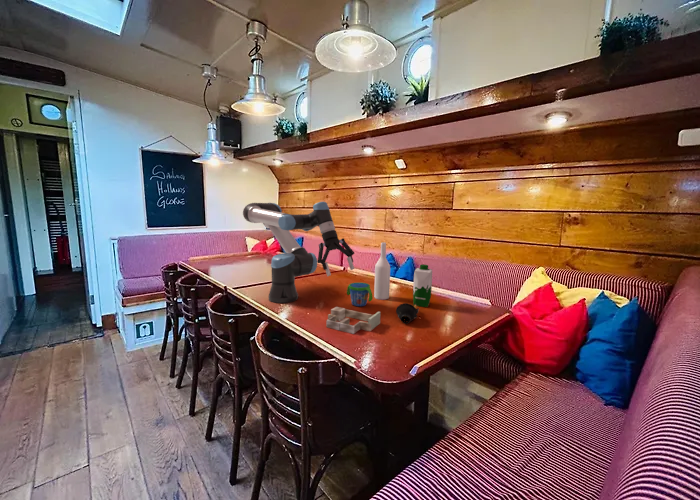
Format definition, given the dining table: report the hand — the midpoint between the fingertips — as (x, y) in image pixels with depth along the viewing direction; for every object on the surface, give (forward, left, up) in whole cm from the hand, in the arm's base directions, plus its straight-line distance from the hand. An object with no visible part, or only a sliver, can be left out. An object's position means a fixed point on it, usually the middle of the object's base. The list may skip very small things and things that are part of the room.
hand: (341, 272), depth 151 cm
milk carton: (+34, +22, -17) cm, 44 cm away
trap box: (+16, -19, -17) cm, 30 cm away
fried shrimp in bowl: (+35, 0, -17) cm, 39 cm away
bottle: (+12, +22, -17) cm, 31 cm away
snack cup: (+7, +5, -17) cm, 19 cm away
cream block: (+8, -17, -17) cm, 25 cm away
